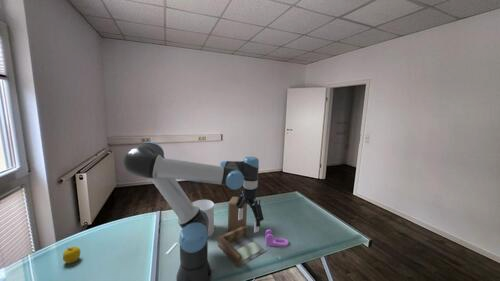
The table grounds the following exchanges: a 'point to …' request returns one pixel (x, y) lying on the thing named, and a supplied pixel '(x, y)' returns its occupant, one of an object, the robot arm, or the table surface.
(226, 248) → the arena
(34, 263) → the table surface
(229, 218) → the wooden block
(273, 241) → the bracket
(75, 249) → the apple
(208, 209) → the container
